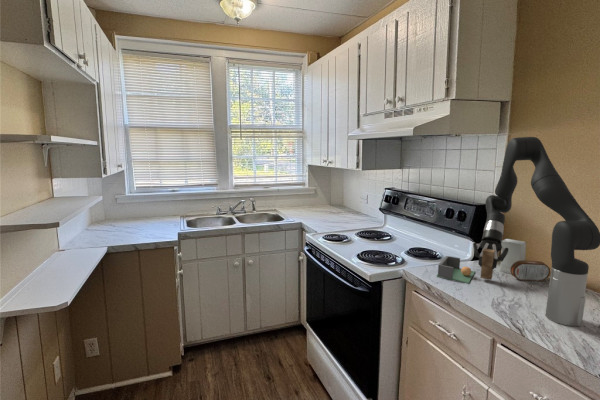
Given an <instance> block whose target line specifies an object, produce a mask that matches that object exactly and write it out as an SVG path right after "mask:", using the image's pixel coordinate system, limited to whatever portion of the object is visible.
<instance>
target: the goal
mask: <svg viewBox="0 0 600 400" xmlns="http://www.w3.org/2000/svg"><path fill="white" fill-rule="evenodd" d="M460 267H461V258H460V257H455V256H450V255H446V256H445V257H444V258H443V259H442V261H440V262H439V264H438V268H437V274H436V276H437V277H436V276H435V277H436V278H441V277H442V278H441V279H445V278H446V280H450V281H454V280H455V281H454V282H459V281H460V283H465V284H470V282H471V280H472V279H473V276H474V275H475V273H476V272H475V271H474V270H471V274H470V275H469V276H465V275H463V274H462V273H461V269H462V268H460Z"/></svg>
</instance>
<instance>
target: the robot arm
mask: <svg viewBox="0 0 600 400" xmlns="http://www.w3.org/2000/svg"><path fill="white" fill-rule="evenodd" d="M516 161H530V162H532V164H533V165H534V167H535V168H534V170H533V173H532V176H531V178H530V179H531V180H530V186H531V188H532V191H533V193H535V196H536V198H537V199H538V200H539V201H540V202H541V203H542V204H543V205H545V206H546V207H547V208H549V209H550V210H552V211H553V212H555V213H556V214H558V215H560V216H561V218H562V219H564V220H561V221H558V222H557V223H555V225H554V226H553V228H552V233H551V247H550V248H551V249H550V260H551V268H550V274H549V285H548V292H547V299H546V300H547V301H546V308H545V314H544V315H545V317H546V318H547V319H548V320H550V321H551V322H554V323H557V324H561V325H565V326H569V327H579V328H580V327H581V328H582V325H583V318H584V311H585V304H586V297H585V296H586V295H585V294H586V289H587V282H588V277H589V276H588V275H589V267H590V266H589V264H588V263H587V262H585V261H583V260H581V259H578V258H575V251H592V250H596V249H598V248H599V247H600V229H599V227H598V225H596V223H595V222H594V221H593V220H592V218H591V217H590V215H588V214H587V213H586V211H585V210H584V209H583V208H582V206H581V205H580V204H579V203H578V201H577V200H576V198H575V197H574V196H573V194H572V193H571V191H570V190H569V188H568V186H567V184H566V183H565V182H564V179H563V178H562V177H561V175H560V174H559V173H558V171H557V170H556V168H555V166H554V164H553V162H552V161H551V160H550V157H549V155H548V152H547V151H546V149H545V146H544V145H543V142H542V141H541V139H540V138H538V137H537V136H523V137H514V138H513V137H512V138H511V139H510V140H509V141H508V143H507V145H506V148H505V152H504V157H503V161H502V167H501V173H500V177H499V180H498V182H497V184H496V187H495V190H494V193H495V194H491V195H488V196H487V197H486V200H485V202H484V203H485V210H486V220H485V225H484V228H483V233H482V238H481V242H479V243H477V242H473V250H474V255H475V258H478V266H479V267H480V268H481V266H482V255H483V250H484V248H485V249H491V250H495V253H494V260H493V265H492V269H493V270H495V269H497V265H498V262H500V263H501V262H502V261H503V260H504V258H505V257H506V255H507V254H508V248H504V247H502V241H503V235H504V229H505V228H504V226H505V220H506V216H505V213H509V212H510V210H511V208H512V199H513V194H514V192H515V190H516V188H517V186H518V176H517V174H516V172H515V169H514V166H515V163H516ZM479 248H480V249H482V250H481V252H480V253H479V250H478V249H479ZM501 250H502V254H501V253H500V255H499V256H498V252H500V251H501Z"/></svg>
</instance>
